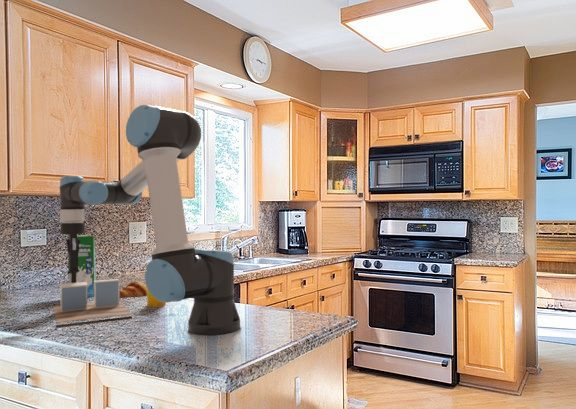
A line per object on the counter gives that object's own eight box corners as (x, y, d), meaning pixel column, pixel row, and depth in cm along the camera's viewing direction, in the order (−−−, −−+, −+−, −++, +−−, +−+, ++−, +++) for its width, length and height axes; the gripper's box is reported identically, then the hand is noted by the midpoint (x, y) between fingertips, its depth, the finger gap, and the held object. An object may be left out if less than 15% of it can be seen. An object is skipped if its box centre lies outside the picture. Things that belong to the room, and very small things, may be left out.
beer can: (160, 311, 164) (160, 267, 164) (144, 310, 165) (143, 267, 165) (168, 307, 170) (167, 265, 170) (152, 307, 171) (152, 265, 171)
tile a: (87, 309, 162) (87, 285, 160) (60, 312, 158) (60, 287, 156) (86, 305, 164) (86, 281, 162) (60, 308, 161) (60, 283, 158)
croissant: (158, 301, 199) (152, 283, 202) (171, 292, 194) (165, 273, 196) (110, 309, 183) (105, 289, 185) (123, 299, 177) (118, 279, 180)
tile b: (119, 305, 167) (119, 279, 167) (94, 308, 163) (94, 281, 163) (118, 304, 169) (118, 278, 169) (94, 306, 166) (93, 280, 166)
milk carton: (95, 296, 193) (95, 234, 193) (94, 300, 185) (93, 235, 185) (71, 297, 191) (70, 235, 190) (68, 302, 182) (67, 236, 182)
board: (132, 318, 154) (132, 314, 154) (56, 327, 144) (56, 322, 144) (119, 304, 177) (119, 300, 177) (53, 311, 167) (53, 306, 167)
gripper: (86, 222, 158) (87, 294, 158) (83, 221, 169) (84, 288, 169) (61, 223, 154) (62, 296, 154) (59, 221, 166) (60, 290, 166)
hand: (73, 291), depth 162 cm, fingers closed
